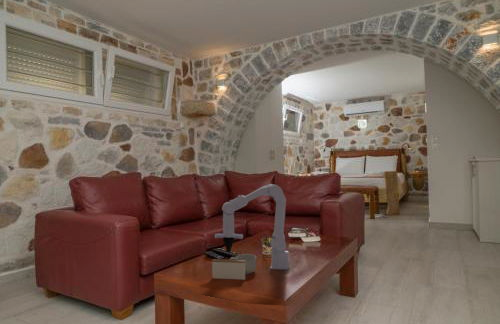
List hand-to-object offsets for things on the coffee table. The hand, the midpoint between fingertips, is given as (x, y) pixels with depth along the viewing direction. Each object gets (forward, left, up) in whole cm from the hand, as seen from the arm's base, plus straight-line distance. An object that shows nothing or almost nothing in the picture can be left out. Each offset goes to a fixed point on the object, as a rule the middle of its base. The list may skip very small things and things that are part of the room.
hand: (228, 252), depth 171 cm
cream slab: (-2, +10, -10) cm, 14 cm away
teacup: (-7, 0, -10) cm, 13 cm away
